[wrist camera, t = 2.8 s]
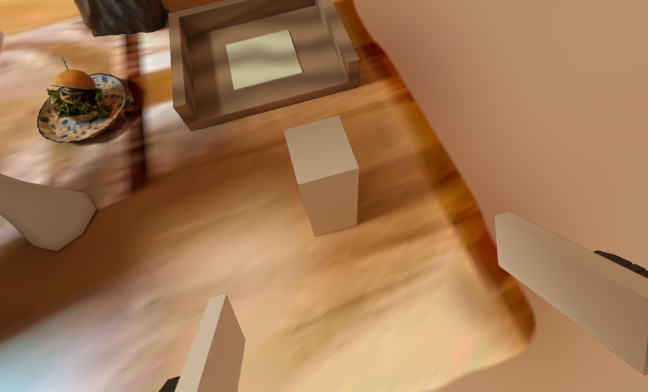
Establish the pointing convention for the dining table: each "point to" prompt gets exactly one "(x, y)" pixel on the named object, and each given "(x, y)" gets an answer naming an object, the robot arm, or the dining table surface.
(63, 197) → the flask
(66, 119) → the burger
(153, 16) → the owl
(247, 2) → the shallow rimmed tray
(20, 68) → the dining table surface
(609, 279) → the robot arm
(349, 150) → the block
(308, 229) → the dining table surface
